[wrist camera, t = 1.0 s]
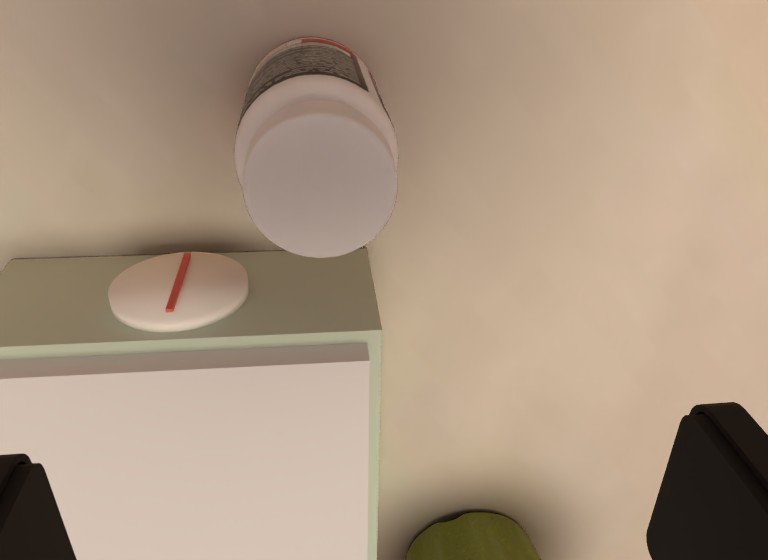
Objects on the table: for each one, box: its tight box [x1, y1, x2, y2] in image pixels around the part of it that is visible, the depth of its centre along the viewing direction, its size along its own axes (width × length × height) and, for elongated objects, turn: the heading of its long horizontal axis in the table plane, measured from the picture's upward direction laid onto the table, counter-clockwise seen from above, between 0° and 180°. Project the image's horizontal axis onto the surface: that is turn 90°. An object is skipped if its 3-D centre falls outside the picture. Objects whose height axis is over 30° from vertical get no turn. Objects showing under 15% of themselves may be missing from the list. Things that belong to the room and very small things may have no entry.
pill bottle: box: [234, 37, 398, 258], centre depth 20 cm, size 5×5×8 cm
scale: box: [0, 248, 382, 560], centre depth 27 cm, size 15×14×7 cm
